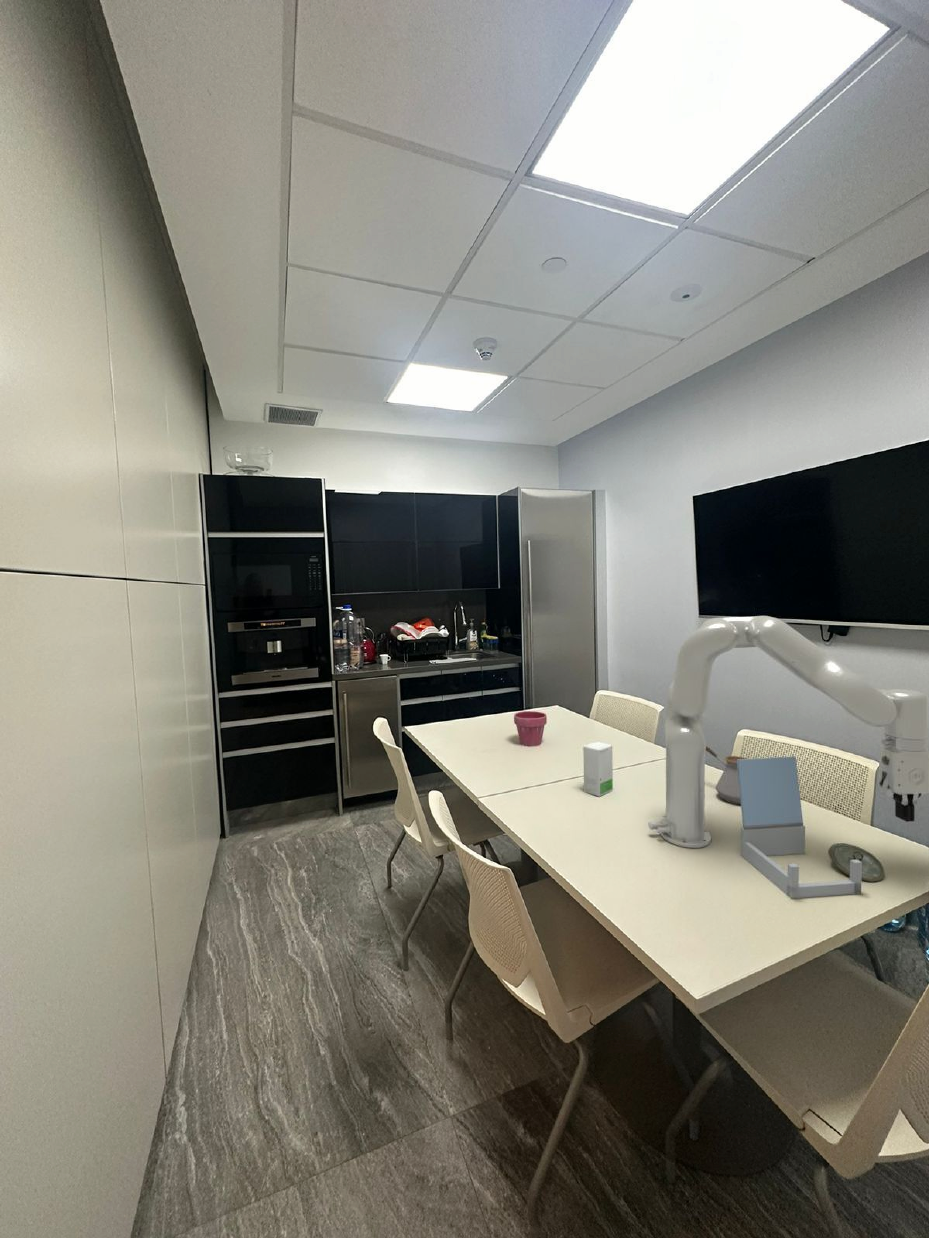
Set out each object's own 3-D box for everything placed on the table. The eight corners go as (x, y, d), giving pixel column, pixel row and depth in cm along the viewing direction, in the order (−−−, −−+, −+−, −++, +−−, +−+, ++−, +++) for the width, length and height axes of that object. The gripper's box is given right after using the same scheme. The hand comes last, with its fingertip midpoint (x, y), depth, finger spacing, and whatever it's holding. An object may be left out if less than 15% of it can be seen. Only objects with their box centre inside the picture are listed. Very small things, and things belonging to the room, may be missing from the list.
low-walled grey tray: (791, 898, 106) (791, 867, 105) (740, 854, 123) (740, 827, 123) (861, 893, 107) (861, 862, 106) (801, 850, 124) (801, 824, 124)
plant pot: (530, 736, 226) (529, 708, 225) (553, 743, 215) (553, 714, 214) (507, 743, 217) (507, 714, 216) (531, 750, 206) (530, 720, 205)
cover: (738, 759, 123) (736, 759, 124) (745, 829, 122) (743, 827, 122) (795, 757, 124) (793, 756, 125) (803, 825, 123) (800, 824, 123)
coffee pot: (765, 802, 152) (766, 755, 151) (739, 810, 147) (740, 761, 146) (707, 778, 171) (708, 736, 170) (683, 784, 167) (683, 741, 166)
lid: (862, 858, 120) (862, 838, 120) (896, 882, 110) (897, 861, 110) (818, 858, 121) (818, 839, 120) (848, 883, 111) (849, 861, 110)
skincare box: (599, 797, 159) (598, 750, 158) (582, 791, 164) (581, 745, 163) (613, 790, 164) (613, 744, 163) (597, 784, 169) (596, 740, 168)
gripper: (889, 749, 111) (889, 829, 112) (951, 745, 111) (950, 823, 112) (860, 740, 118) (861, 814, 119) (918, 735, 119) (918, 809, 120)
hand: (904, 818), depth 116 cm, fingers closed
